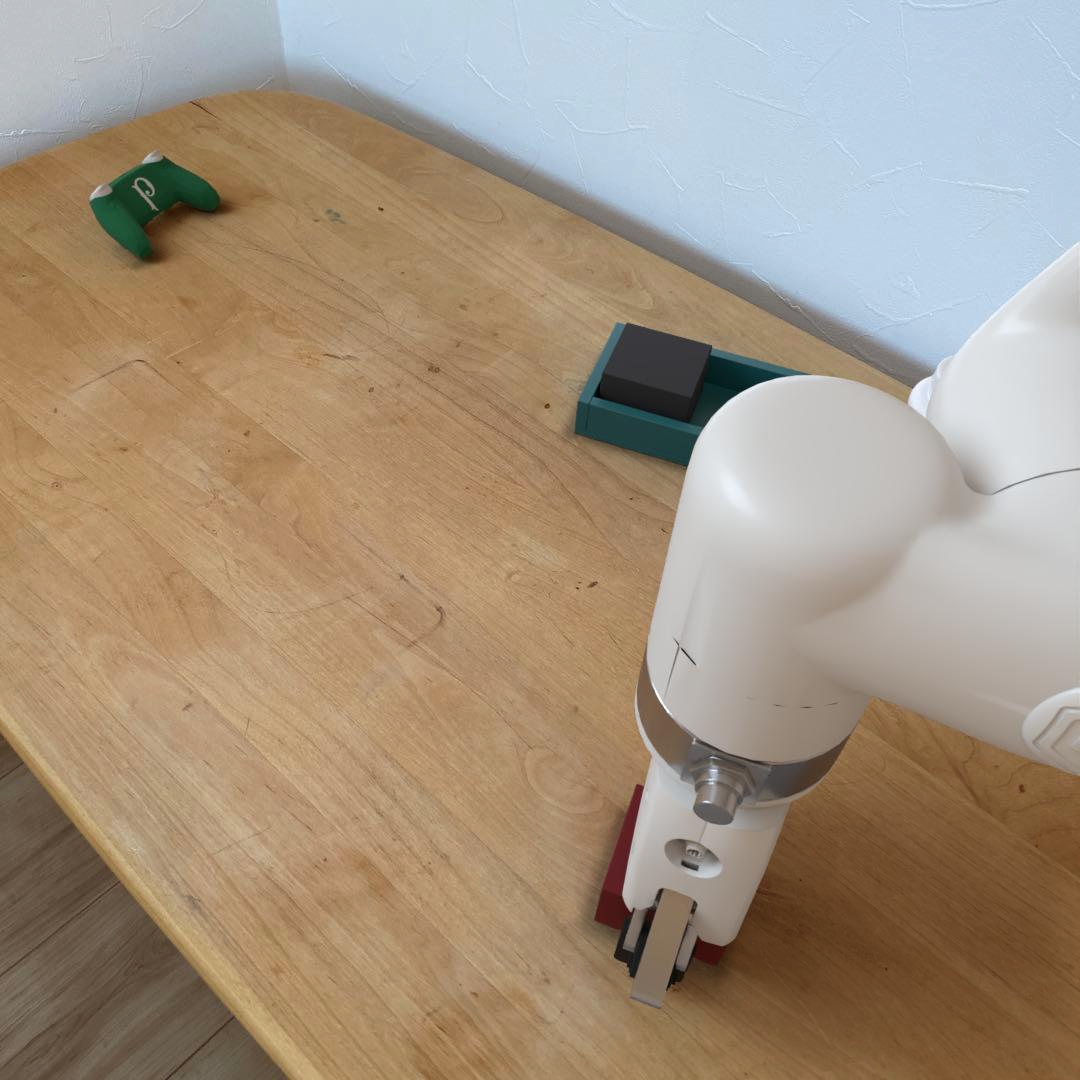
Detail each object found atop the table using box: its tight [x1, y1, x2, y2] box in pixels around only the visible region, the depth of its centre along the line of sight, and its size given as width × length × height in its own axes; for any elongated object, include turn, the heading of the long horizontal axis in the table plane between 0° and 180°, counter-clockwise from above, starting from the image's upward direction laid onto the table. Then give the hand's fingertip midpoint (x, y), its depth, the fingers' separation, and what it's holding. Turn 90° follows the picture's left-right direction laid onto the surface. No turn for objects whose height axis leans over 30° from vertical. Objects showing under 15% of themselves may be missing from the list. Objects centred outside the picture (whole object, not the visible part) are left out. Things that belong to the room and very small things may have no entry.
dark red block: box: [593, 783, 729, 967], centre depth 50 cm, size 6×6×4 cm
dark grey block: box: [599, 322, 713, 424], centre depth 71 cm, size 6×6×4 cm
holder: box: [573, 321, 812, 467], centre depth 71 cm, size 15×9×3 cm, turn 70°
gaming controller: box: [89, 148, 222, 260], centre depth 82 cm, size 9×4×6 cm
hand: (672, 882), depth 51 cm, fingers open, 7 cm apart
